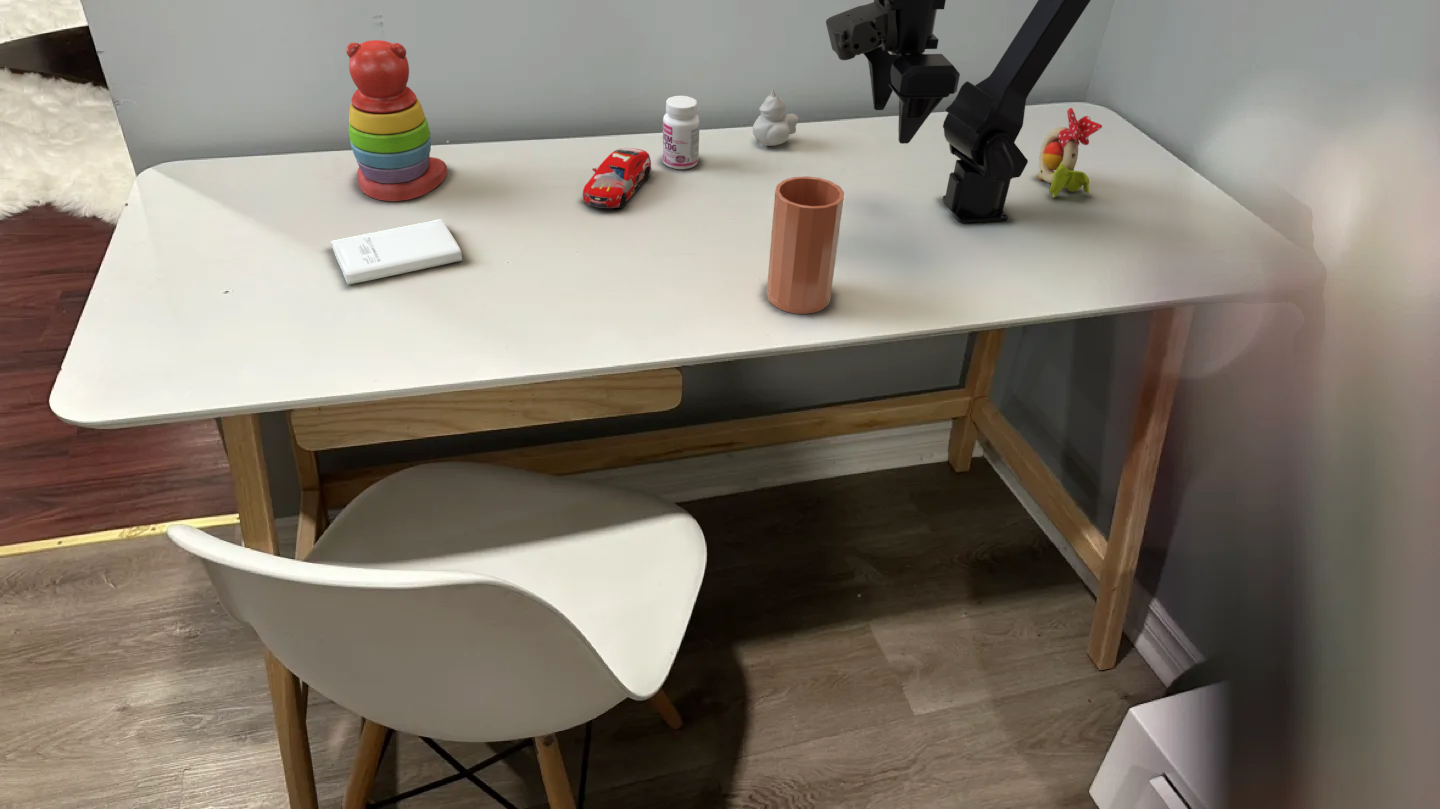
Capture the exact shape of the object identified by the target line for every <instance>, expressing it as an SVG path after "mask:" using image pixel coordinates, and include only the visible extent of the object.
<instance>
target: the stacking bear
mask: <svg viewBox="0 0 1440 809" xmlns="http://www.w3.org/2000/svg"><path fill="white" fill-rule="evenodd" d="M345 51H346V56H348V58H349V60H348V69H349V70H348V71H349V74H350V78H351V80H352V82H353V84H354V85H355V86H356V88H357V89H356V90H355V91H354V93H353V94H352V96H351V100H350V105H349V111H348V112H349V113H348V120H349V122H348V139H349V142H350V148H351V150H352V153H353V155H354V157H355V159H356V162H357V166H358V169H357V176H356V177H357V184H358V187H359V189H360V190H361V192H363V193H364V194H365V195H367V196H368V197H370V198H372V199H375V200H380V201H387V202H399V201H407V200H412V199H415V198H419V197H421V196H424V195H426V194H427V193H429V192H431V191H433V190H434V189H436V188H437V187H438V186H440V184H442V183H443V182H444V180H445V179H446V177H447V174H448V167H447V164H446V162H445V161H444V160H442V159H441V158H438V157H433V156H430V155H431V149H432V138H431V129H430V125H429V122H428V119H427V117H426V115H425V111H424V109H423V106H422V103H421V101H420V100H419V98H418V97H417V95H416V93H415V92H414V91H413V89H411V88H410V87H409V86H407V85H408V82H409V77H410V66H409V61H408V58H407V49H406V48H405V47H404V46H403V45H402V44H401V43H399V42H390V41H386V40H381V39H380V40H378V39H372V40H366V41H364V42H361V43H359V42H350V43H348V44H347V46H346V49H345Z"/></svg>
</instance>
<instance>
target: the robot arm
mask: <svg viewBox="0 0 1440 809" xmlns="http://www.w3.org/2000/svg"><path fill="white" fill-rule="evenodd" d="M946 2H947V0H873V2H870V3H866V4H863V5H862V4H861V5H857V6H856V7H852V8H850V9H848V10H845V11H843V12H840V13H837V14H835V15H832V16H829V17H828V18H826V20H825V26H826V29H827V34H828V38H829V42H830V46H831V50H832V51H833V52H834V53H835V54H836V56H837V58H838V59H839V60H841V61H848V60H852V59H854V58H855V57H856V56H860V55H862V54H863V55H864V57H865V58H866V59H867V63H868V69H869V77H870V85H871V86H870V87H871V95H872V102H873V103H872V104H873V109H874V110H875V111H884V110H885V109H886V106H887V104H888V103H889V102H888V101H889V100H890V98H891V95H892V93H894V94H895V95H896V97H898V143H899V144H901V145H902V144H905V145H907V144H909V143H911V141H912V139H913V138H914V137H915V136H916V135H917V132H918V131H919V130H920V128H921V127H922V125H923V124H924V123H925V122H926V120H927V119H928V117H929V116H930V115H931V114H932V112H933V111H934V110H935V109H936V108H937V107H938V106H939V104H940V103H941V101H942V100H944V98H948V97H949V96H950V95H954V94H955V93H957V92H958V93H957V95H956V97H955V98H954V100H953V101H952V102H951V104H950V105H948V106H947V107H946V108H945V112H947V114H946V117H945V118H944V121H943V124H942V128H943V135H944V138H945V140H946V142H947V143H948V145H949V146H948V147H949V151H950V154H951V155H953V156H955V157H957V158H958V159H956V160H955V163H954V164H955V165H954V170H953V171H952V172H950V173H949V176H948V181H947V186H946V192H945V195H943V196H942V198H941V199H942V201H943V203H944V204H945V205H946V207H947V208H948V210H949V211H950V212H951V214H952V215H953V216H954V217H955V219H956V220H957V222H959V223H962V224H967V223H986V222H1005V221H1008V220H1009V215H1008V213H1007V212H1006V211H1005V210H1004V209H1005V204H1006V201H1007V197H1008V192H1009V189H1010V184H1011V180H1012V179H1016V178H1020V177H1021V176H1022V174H1023V172H1024V170H1025V169H1026V167H1027V165H1028V163H1029V160H1028V158H1027V157H1026V156H1025V154H1024V153H1023V152H1022V151H1021V149H1020V148H1019V147H1018V145H1017V144H1016V143H1015V142H1016V140H1017V138H1018V136H1019V134H1020V133H1021V130H1022V129H1023V126H1024V118H1025V112H1026V103H1027V98H1028V97H1029V94H1030V93H1031V92H1032V90H1033V88H1034V87H1035V86H1036V84H1037V82H1038V81H1039V80H1040V78H1041V76H1042V75H1043V73H1044V72H1045V70H1046V69H1047V67H1048V66H1049V64H1050V63H1051V61H1052V60H1053V58H1054V57H1055V55H1056V54H1057V52H1058V51H1059V49H1060V47H1061V46H1062V45H1063V43H1064V42H1065V40H1066V38H1067V37H1068V35H1069V34H1070V32H1071V31H1072V29H1073V28H1074V27H1075V25H1076V24H1077V22H1078V20H1080V17H1081V16H1082V14H1083V13H1084V11H1085V10H1086V8H1087V7H1088V5H1089V4H1090V2H1091V0H1037V2H1036V3H1035V4H1034V6H1033V8H1032V9H1031V11H1030V13H1029V14H1028V16H1027V17H1026V19H1025V20H1024V22H1023V23H1022V25H1021V27H1020V28H1019V30H1018V31H1017V33H1016V34H1015V36H1014V38H1013V40H1012V41H1011V42H1010V44H1009V45H1008V47H1007V48H1006V50H1005V51H1004V53H1003V55H1002V57H1001V58H1000V60H999V61H998V63H997V64H996V66H995V67H994V69H993V71H991V73H990V75H988V77H986V78H984V79H983V80H981V81H980V82H978V83H976V84H975V85H974V84H973V83H972V82H970V81H965V82H964V83H963V84H961V86H960V88H959V87H958V86H959V81H960V76H961V73H960V72H959V71H958V69H957V68H956V67H955V66H954V64H953V63H952V62H950V60H949V59H947V58H946V56H945V55H944V54H943V53H925V52H926V50H938V46H939V38H938V37H937V36H936V35H935V34H934V28H935V24H936V19H937V18H936V17H937V13H938V10H945V7H946ZM958 88H959V90H958Z"/></svg>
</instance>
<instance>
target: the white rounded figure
mask: <svg viewBox="0 0 1440 809" xmlns="http://www.w3.org/2000/svg"><path fill="white" fill-rule="evenodd" d="M771 88H772V89H771V93H770V94H769V95H768V96H766V97H765V100H764V101H763V103H762V104H761V105H760V107H759V111H760V115H759V116H758V117H757V118H756V120H755V122H754V123H753V125H752V135H753V136H754V137H755V138H756V140H757V141H758V142H760V143H761V144H762V145H764V146H767V147H774V146H780V145H782V144H784V143H786V142H787V141H788V139H789V136H790V135H793V134H795V133H796V132H797V124H798V122H799V115H797V114H795V113H788V114H786V112H787V107H786V103H785V102H784V100H783V99H782V98H781V97H779V95H777V94H776V91H775V89H774V87H771ZM785 114H786V115H785Z"/></svg>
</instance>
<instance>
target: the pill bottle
mask: <svg viewBox="0 0 1440 809" xmlns="http://www.w3.org/2000/svg"><path fill="white" fill-rule="evenodd" d="M697 113H698V101H697V100H696V98H694V97H691V96H687V95H673V96H670V97H668V98H667V99H666V101H665V114H664V115H663V118H662V162H663V164H664V165H665V166H667V167H669V168H670V169H675V170H688V169H691V168H694V167H695V166H696V165H698V162H699V154H700V152H699V151H700V150H699V149H700V125H701V124H700V123H701V122H700V117H699V115H698V114H697Z"/></svg>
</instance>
